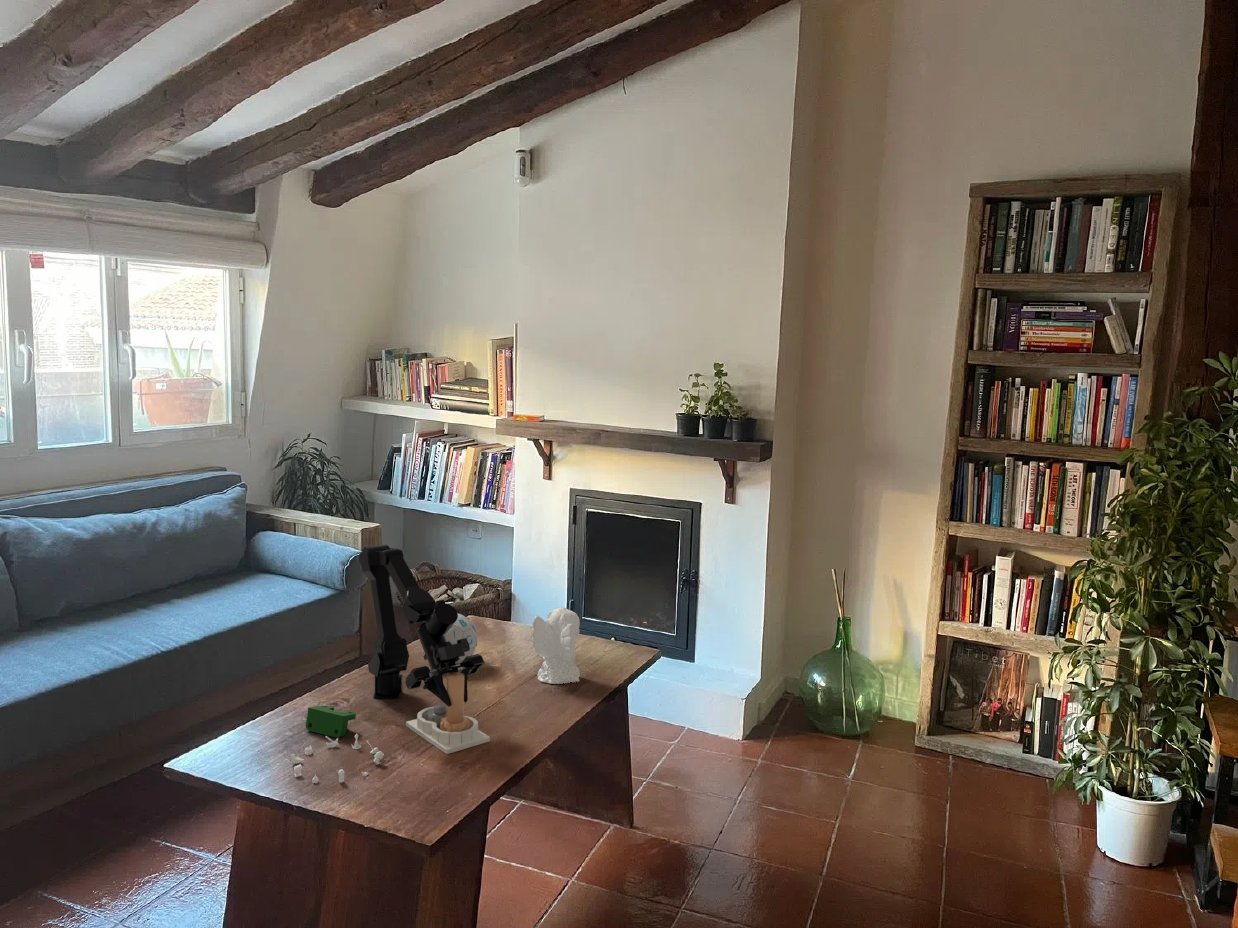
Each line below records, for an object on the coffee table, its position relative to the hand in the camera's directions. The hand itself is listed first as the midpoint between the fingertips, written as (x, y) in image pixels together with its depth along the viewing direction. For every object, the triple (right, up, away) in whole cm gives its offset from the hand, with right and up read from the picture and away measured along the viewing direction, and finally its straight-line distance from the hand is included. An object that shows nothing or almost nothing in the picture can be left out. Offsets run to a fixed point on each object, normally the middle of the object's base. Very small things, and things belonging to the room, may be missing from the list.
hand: (458, 703), depth 219 cm
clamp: (-31, -8, +4) cm, 32 cm away
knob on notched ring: (-1, -6, +2) cm, 7 cm away
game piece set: (-25, -11, -13) cm, 30 cm away
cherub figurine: (+21, -4, +42) cm, 47 cm away
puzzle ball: (-11, -2, +51) cm, 52 cm away
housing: (-3, -8, +5) cm, 10 cm away
